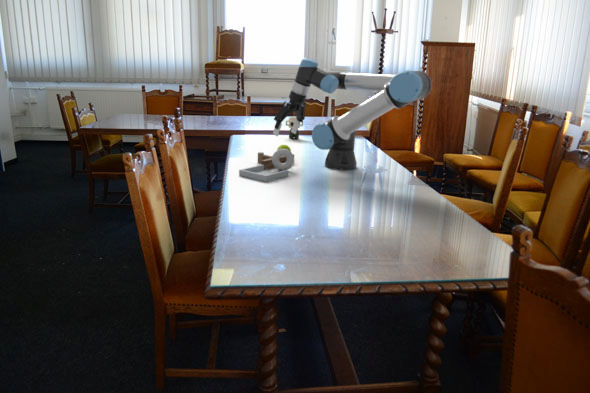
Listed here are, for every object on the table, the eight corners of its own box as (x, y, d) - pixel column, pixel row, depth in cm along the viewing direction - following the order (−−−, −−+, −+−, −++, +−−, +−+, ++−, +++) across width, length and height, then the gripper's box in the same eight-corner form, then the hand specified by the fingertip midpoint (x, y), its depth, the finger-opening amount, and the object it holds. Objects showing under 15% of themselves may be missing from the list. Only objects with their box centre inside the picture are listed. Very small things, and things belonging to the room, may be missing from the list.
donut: (293, 170, 218) (294, 148, 215) (293, 171, 215) (294, 149, 212) (271, 169, 218) (272, 147, 215) (271, 171, 215) (272, 149, 212)
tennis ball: (278, 160, 238) (279, 146, 236) (275, 157, 244) (275, 143, 242) (292, 159, 239) (292, 146, 237) (288, 156, 246) (289, 143, 244)
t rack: (293, 162, 233) (294, 152, 232) (264, 169, 216) (264, 159, 215) (274, 158, 240) (274, 149, 239) (244, 165, 223) (244, 155, 222)
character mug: (285, 139, 297) (286, 118, 293) (284, 137, 304) (285, 116, 300) (302, 139, 298) (303, 118, 294) (301, 137, 304) (302, 117, 301)
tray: (288, 175, 207) (288, 170, 207) (265, 182, 196) (266, 176, 195) (262, 169, 216) (262, 164, 215) (239, 175, 204) (239, 169, 203)
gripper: (309, 88, 229) (294, 128, 238) (275, 88, 210) (261, 131, 219) (320, 95, 226) (305, 135, 235) (288, 95, 206) (273, 139, 216)
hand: (284, 133), depth 227 cm, fingers open, 13 cm apart
